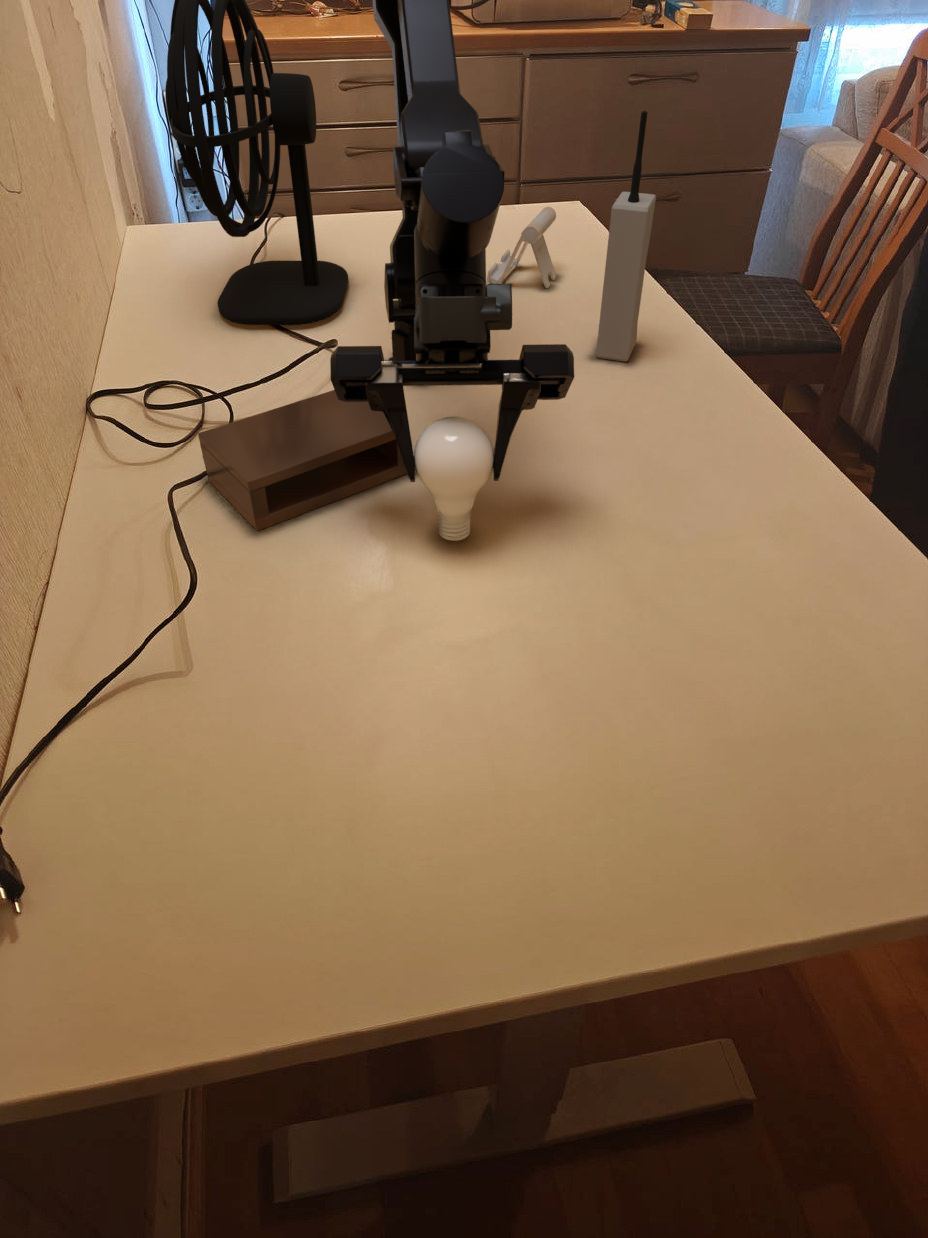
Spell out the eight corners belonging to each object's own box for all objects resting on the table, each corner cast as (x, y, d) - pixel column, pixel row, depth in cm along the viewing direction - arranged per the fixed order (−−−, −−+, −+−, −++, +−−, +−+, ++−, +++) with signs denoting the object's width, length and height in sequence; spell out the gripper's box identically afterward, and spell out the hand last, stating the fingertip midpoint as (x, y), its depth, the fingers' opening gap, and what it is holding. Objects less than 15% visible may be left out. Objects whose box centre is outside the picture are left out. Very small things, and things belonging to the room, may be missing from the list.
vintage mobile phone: (635, 345, 103) (668, 104, 86) (627, 363, 99) (660, 115, 83) (604, 341, 104) (631, 102, 87) (595, 358, 100) (621, 112, 84)
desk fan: (233, 260, 124) (180, -48, 101) (356, 261, 124) (331, -48, 101) (187, 341, 104) (107, -23, 80) (334, 341, 104) (297, -22, 80)
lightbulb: (484, 564, 71) (487, 447, 64) (409, 555, 72) (403, 438, 65) (497, 520, 76) (501, 406, 69) (426, 511, 77) (423, 398, 69)
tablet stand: (506, 265, 123) (508, 202, 117) (560, 272, 121) (565, 208, 115) (486, 286, 117) (488, 221, 111) (543, 294, 115) (547, 228, 109)
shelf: (355, 429, 88) (351, 383, 85) (411, 472, 82) (409, 424, 79) (208, 480, 81) (197, 432, 77) (257, 531, 75) (247, 482, 71)
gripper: (319, 238, 61) (321, 457, 60) (583, 237, 62) (588, 454, 61) (338, 304, 72) (340, 490, 71) (561, 302, 73) (566, 487, 72)
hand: (454, 480), depth 69 cm, fingers closed on lightbulb, 6 cm apart
